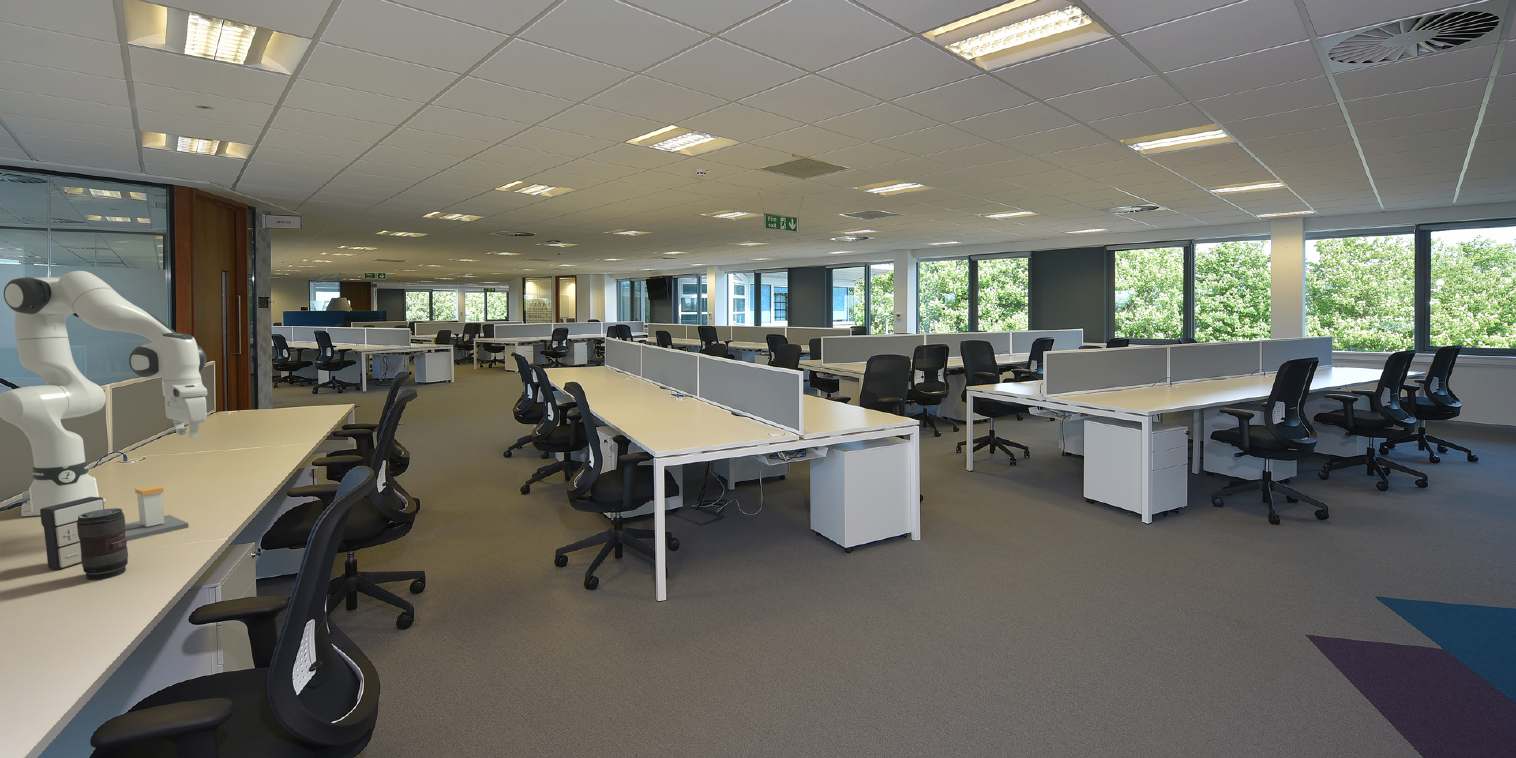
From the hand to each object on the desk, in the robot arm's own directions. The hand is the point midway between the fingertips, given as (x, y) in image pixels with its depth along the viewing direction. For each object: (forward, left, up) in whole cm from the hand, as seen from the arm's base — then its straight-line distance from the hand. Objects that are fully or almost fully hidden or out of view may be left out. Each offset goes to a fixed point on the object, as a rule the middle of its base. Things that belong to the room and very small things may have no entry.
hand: (187, 436), depth 200 cm
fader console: (0, -16, -25) cm, 30 cm away
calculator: (+17, -29, -25) cm, 42 cm away
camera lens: (+33, -28, -25) cm, 50 cm away
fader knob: (0, -10, -24) cm, 26 cm away
